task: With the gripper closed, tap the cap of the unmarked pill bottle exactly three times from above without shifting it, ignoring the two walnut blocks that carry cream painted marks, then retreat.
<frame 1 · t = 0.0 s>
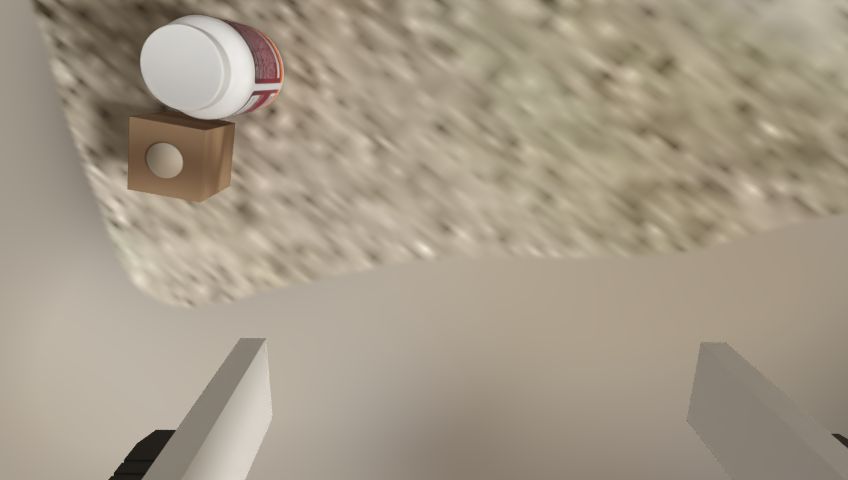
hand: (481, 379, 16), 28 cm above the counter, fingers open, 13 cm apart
pill bottle: (245, 70, 40), on the counter
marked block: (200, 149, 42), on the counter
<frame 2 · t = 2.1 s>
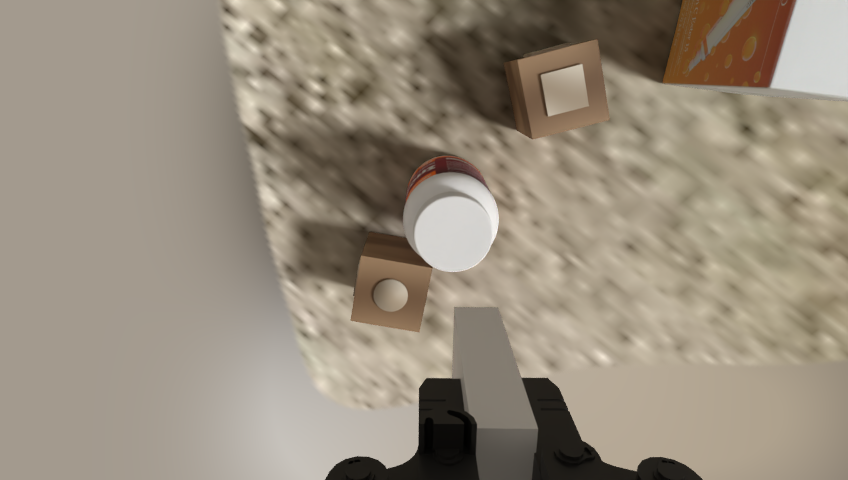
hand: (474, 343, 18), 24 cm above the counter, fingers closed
pill bottle: (445, 193, 42), on the counter
small box: (714, 32, 38), on the counter
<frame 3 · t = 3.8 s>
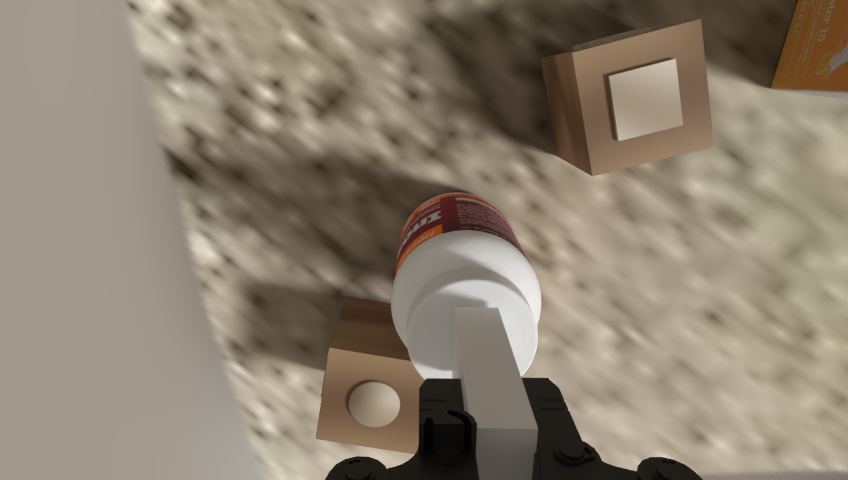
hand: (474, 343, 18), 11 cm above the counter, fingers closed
pill bottle: (454, 244, 29), on the counter
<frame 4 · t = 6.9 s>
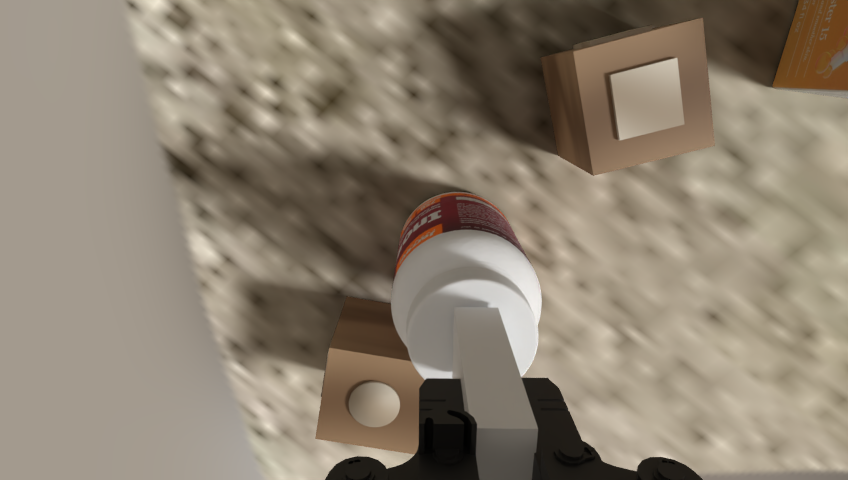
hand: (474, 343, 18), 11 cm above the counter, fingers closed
pill bottle: (455, 243, 29), on the counter, touching gripper
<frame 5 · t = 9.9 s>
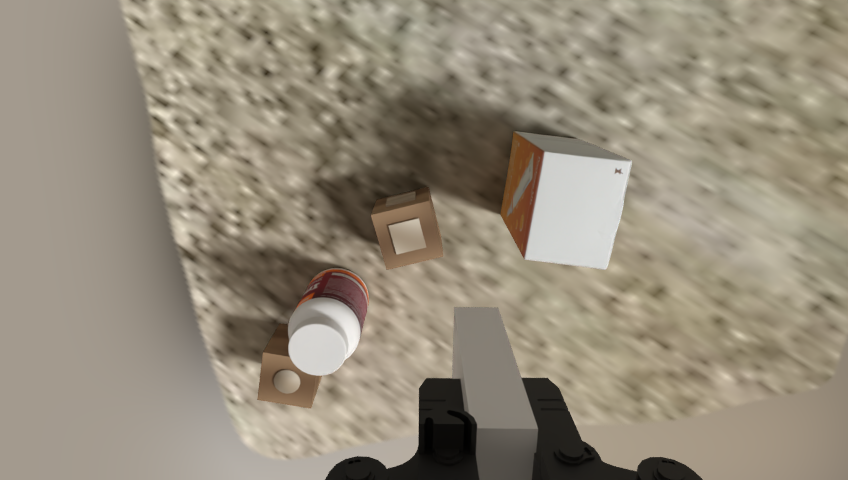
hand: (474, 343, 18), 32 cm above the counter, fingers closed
pill bottle: (338, 294, 53), on the counter
small box: (538, 177, 50), on the counter
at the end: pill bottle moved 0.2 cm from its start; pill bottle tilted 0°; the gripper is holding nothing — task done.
